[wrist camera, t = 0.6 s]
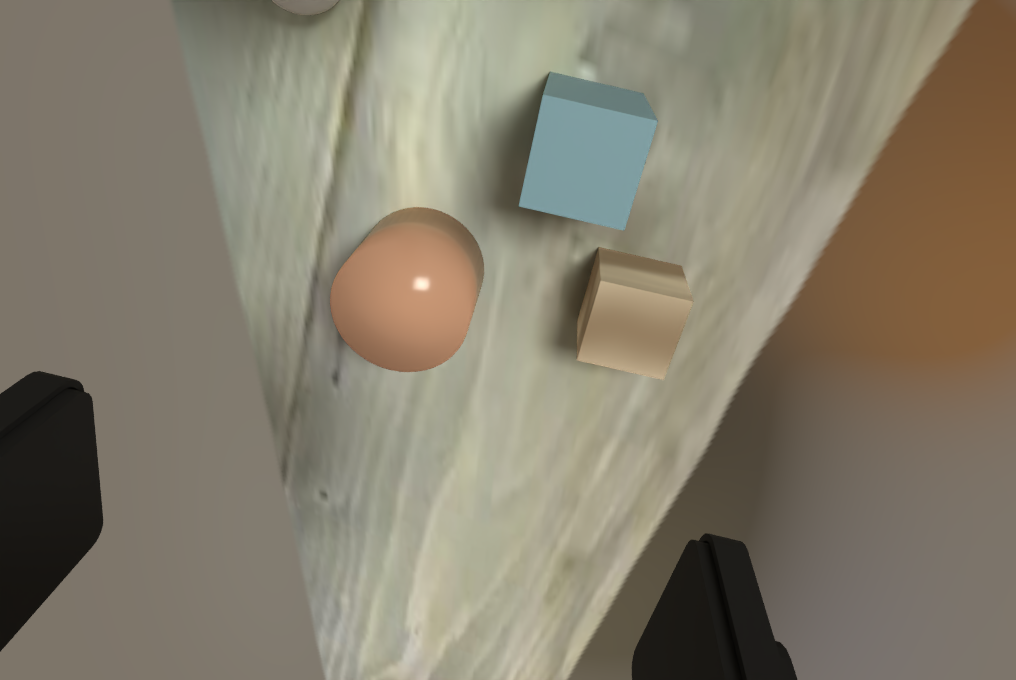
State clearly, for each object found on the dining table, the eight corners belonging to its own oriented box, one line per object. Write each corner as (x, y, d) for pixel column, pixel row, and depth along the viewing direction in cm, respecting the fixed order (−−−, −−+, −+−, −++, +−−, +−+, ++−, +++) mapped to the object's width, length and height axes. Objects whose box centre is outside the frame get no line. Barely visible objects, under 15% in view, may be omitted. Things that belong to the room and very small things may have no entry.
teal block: (550, 71, 28) (543, 94, 22) (643, 93, 28) (657, 120, 23) (529, 165, 30) (518, 206, 24) (616, 185, 30) (624, 230, 24)
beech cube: (598, 246, 31) (600, 280, 28) (681, 265, 31) (693, 301, 28) (577, 319, 33) (576, 360, 30) (655, 337, 33) (663, 379, 30)
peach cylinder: (369, 194, 31) (335, 230, 27) (494, 222, 31) (480, 263, 27) (358, 306, 34) (325, 355, 30) (472, 332, 34) (456, 384, 30)
